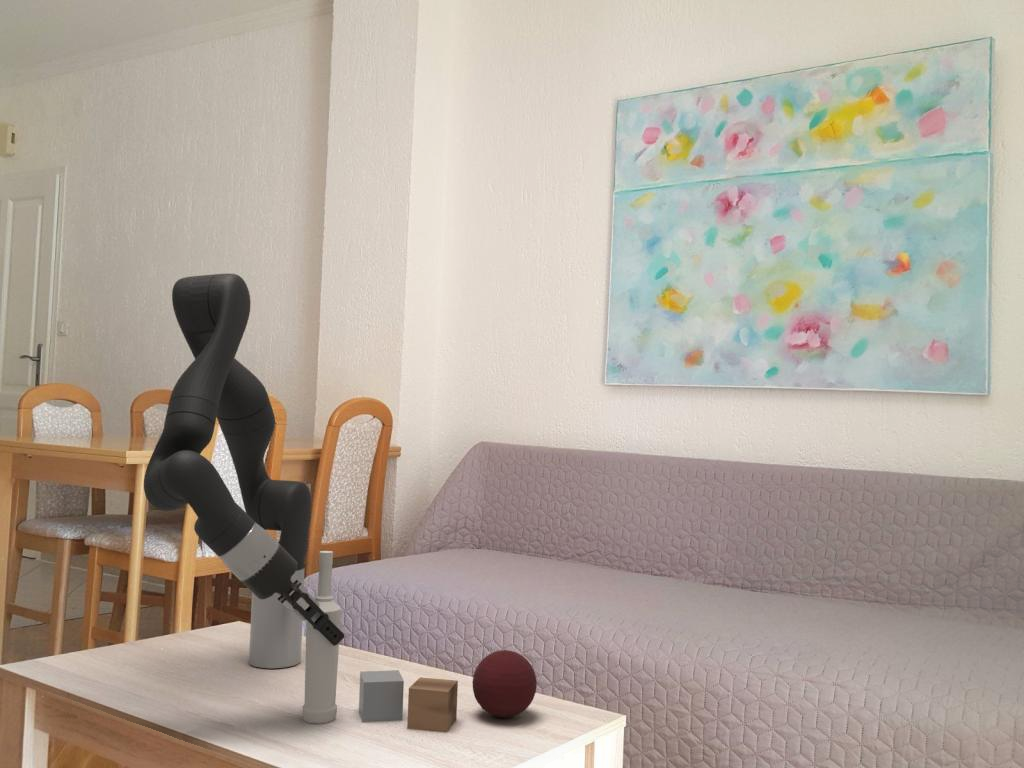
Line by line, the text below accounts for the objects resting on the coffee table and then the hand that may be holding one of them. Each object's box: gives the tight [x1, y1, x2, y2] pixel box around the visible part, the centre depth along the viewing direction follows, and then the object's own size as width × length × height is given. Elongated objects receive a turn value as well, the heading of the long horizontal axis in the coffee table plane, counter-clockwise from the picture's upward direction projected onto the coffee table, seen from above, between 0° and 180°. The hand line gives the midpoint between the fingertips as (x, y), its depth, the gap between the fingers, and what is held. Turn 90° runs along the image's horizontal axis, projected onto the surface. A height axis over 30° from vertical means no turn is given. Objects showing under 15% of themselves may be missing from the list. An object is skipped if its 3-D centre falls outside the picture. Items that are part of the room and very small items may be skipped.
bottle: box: [301, 550, 342, 724], centre depth 141 cm, size 5×5×25 cm
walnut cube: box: [406, 676, 459, 734], centre depth 140 cm, size 6×6×6 cm
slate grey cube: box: [358, 669, 405, 723], centre depth 143 cm, size 6×6×6 cm
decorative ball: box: [472, 649, 538, 719], centre depth 144 cm, size 10×10×10 cm
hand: (334, 636), depth 141 cm, fingers closed on bottle, 5 cm apart
